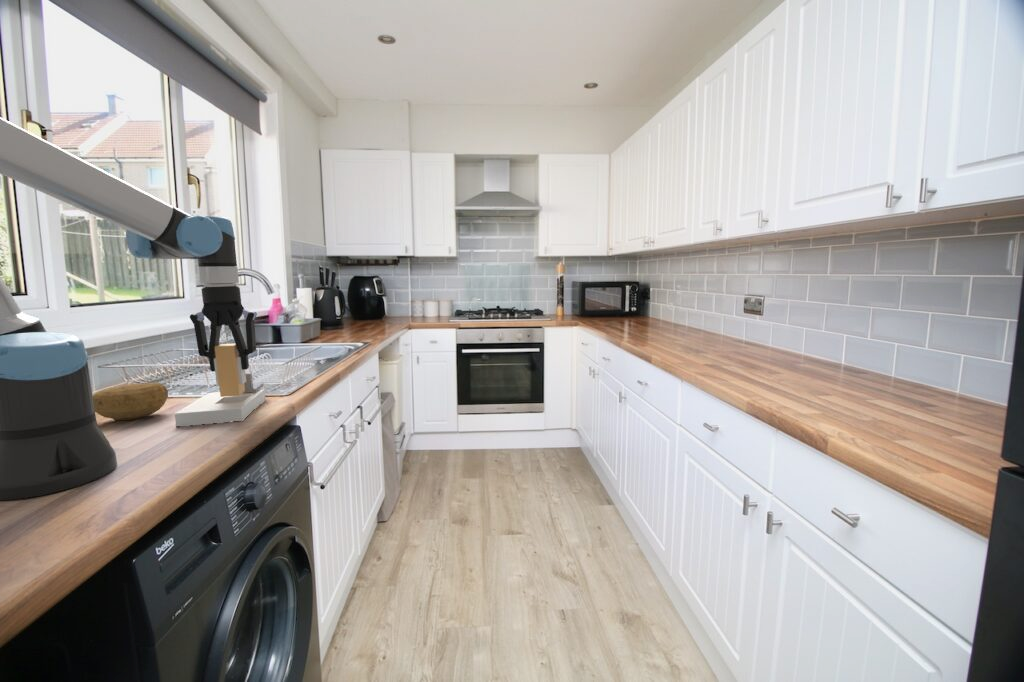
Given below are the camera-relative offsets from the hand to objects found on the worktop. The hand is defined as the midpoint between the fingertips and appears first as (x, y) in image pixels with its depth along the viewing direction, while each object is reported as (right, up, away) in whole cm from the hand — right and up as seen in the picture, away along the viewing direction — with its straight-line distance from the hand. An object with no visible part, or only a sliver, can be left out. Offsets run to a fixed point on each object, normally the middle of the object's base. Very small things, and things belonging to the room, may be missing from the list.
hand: (231, 383), depth 107 cm
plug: (0, -3, 0) cm, 3 cm away
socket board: (-2, -7, 0) cm, 7 cm away
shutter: (-2, -3, +9) cm, 10 cm away
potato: (-21, -8, -3) cm, 23 cm away
